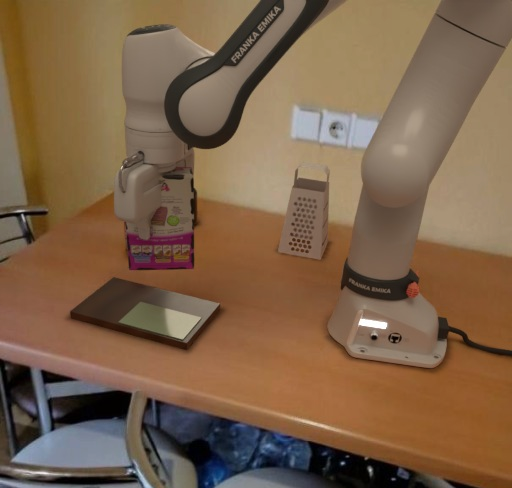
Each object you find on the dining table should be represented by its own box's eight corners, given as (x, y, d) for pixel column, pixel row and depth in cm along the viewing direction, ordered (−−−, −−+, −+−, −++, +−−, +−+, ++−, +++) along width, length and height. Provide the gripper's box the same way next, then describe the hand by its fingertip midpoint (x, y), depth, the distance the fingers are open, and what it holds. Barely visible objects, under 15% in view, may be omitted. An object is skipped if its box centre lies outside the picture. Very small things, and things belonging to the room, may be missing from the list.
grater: (320, 259, 133) (332, 176, 122) (277, 252, 135) (285, 169, 123) (327, 242, 141) (339, 163, 130) (287, 235, 143) (295, 156, 132)
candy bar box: (192, 257, 100) (193, 165, 91) (194, 270, 96) (195, 176, 87) (128, 257, 99) (122, 164, 89) (127, 271, 94) (121, 175, 85)
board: (220, 310, 111) (220, 302, 110) (186, 350, 99) (186, 342, 98) (114, 283, 117) (113, 276, 116) (70, 318, 105) (69, 310, 104)
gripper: (139, 166, 77) (143, 257, 85) (201, 133, 93) (200, 212, 101) (99, 158, 78) (106, 248, 86) (167, 127, 95) (168, 205, 102)
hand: (157, 228), depth 94 cm, fingers closed on candy bar box, 6 cm apart
